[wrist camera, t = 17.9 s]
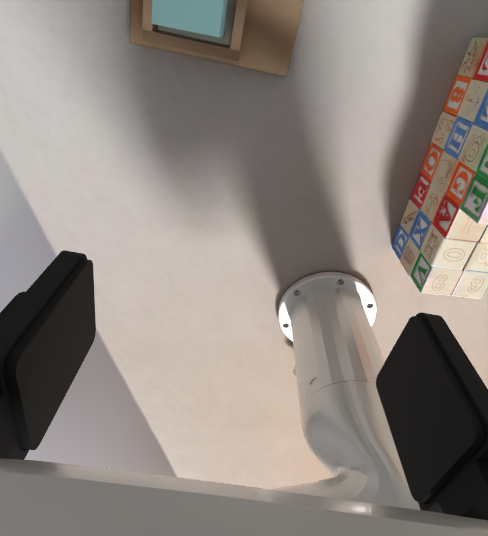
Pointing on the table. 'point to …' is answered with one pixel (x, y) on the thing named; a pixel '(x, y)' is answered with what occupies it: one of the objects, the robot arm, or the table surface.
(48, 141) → the table surface
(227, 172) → the table surface
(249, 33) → the chassis
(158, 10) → the teal nearly cubic block
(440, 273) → the stack of blocks
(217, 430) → the table surface
